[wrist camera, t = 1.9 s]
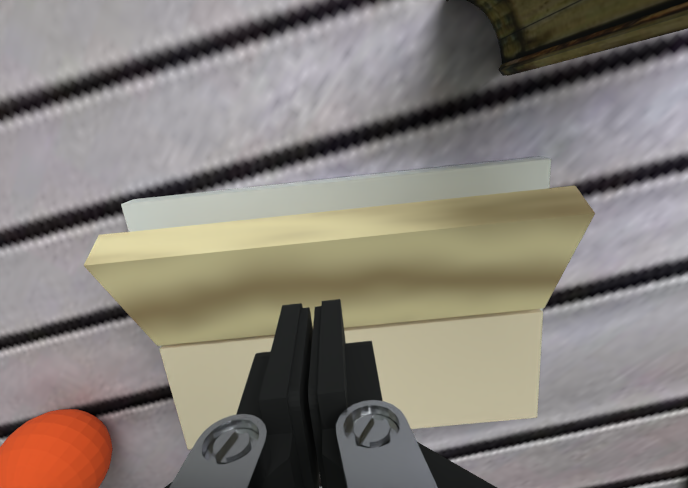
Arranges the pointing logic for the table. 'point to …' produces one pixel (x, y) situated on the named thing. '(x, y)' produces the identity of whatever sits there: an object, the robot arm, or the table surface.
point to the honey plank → (345, 264)
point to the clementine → (56, 452)
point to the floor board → (338, 194)
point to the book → (575, 27)
